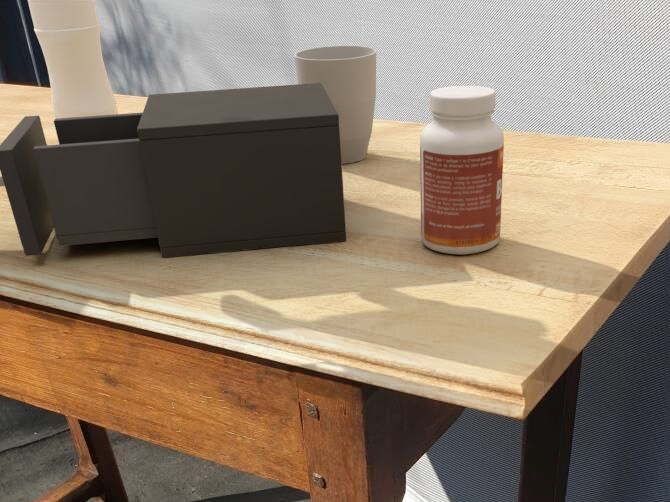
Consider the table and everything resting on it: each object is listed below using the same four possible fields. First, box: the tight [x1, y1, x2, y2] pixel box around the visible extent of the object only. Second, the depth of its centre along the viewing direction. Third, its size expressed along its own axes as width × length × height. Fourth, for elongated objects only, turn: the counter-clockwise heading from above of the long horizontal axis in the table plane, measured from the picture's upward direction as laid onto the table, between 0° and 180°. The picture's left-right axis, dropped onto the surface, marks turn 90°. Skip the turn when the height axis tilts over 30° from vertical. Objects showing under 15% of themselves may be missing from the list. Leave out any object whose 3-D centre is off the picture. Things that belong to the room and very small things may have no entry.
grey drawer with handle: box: [0, 112, 158, 257], centre depth 67 cm, size 19×11×8 cm, turn 99°
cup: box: [293, 45, 377, 165], centre depth 85 cm, size 8×8×10 cm
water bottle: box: [27, 0, 119, 119], centre depth 93 cm, size 7×7×25 cm
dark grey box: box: [137, 83, 347, 258], centre depth 68 cm, size 15×13×10 cm
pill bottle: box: [419, 85, 505, 256], centre depth 62 cm, size 6×6×11 cm
